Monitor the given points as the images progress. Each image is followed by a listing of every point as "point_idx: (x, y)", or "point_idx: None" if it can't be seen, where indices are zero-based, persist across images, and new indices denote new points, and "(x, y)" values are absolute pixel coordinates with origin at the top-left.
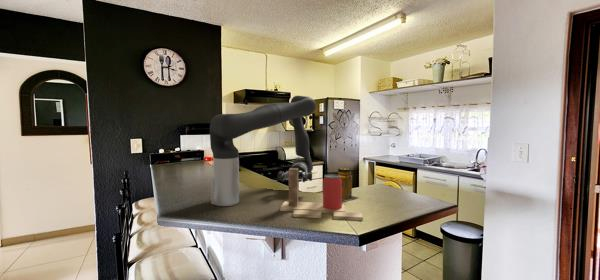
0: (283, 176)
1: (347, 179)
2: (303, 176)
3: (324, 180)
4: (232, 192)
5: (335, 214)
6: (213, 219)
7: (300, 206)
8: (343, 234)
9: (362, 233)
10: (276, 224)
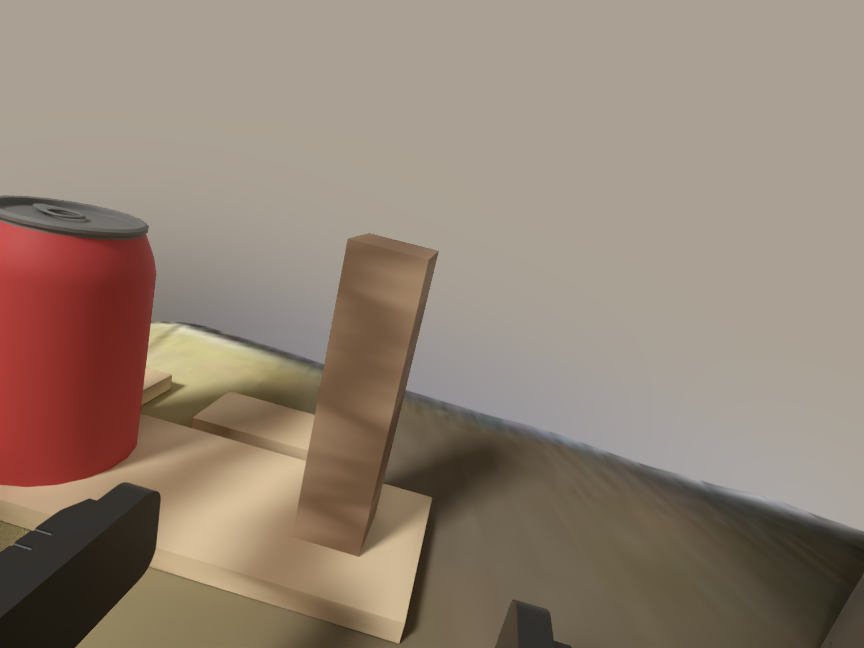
0: (513, 632)
1: None
2: (121, 507)
3: (152, 257)
4: (858, 583)
5: (149, 379)
6: (700, 495)
7: (291, 492)
8: (224, 334)
9: (158, 322)
10: (432, 413)
